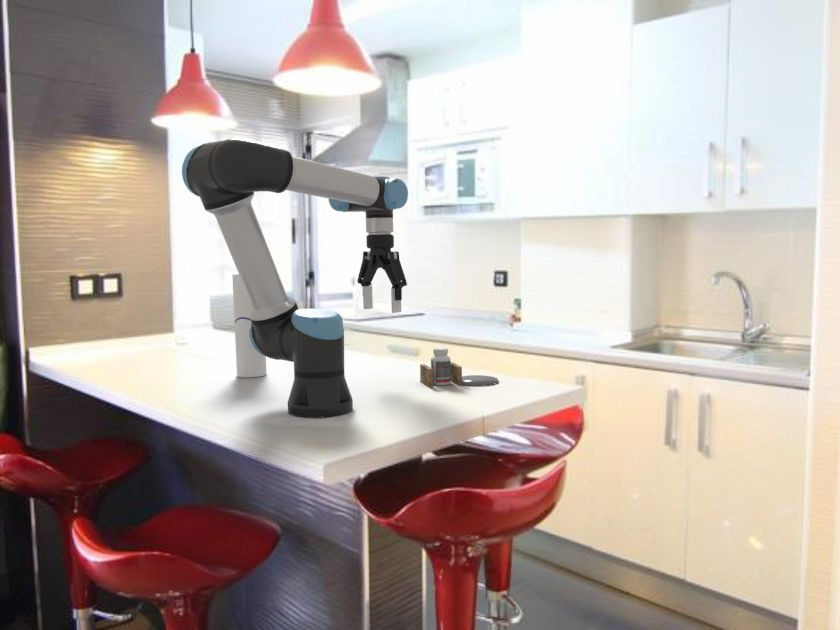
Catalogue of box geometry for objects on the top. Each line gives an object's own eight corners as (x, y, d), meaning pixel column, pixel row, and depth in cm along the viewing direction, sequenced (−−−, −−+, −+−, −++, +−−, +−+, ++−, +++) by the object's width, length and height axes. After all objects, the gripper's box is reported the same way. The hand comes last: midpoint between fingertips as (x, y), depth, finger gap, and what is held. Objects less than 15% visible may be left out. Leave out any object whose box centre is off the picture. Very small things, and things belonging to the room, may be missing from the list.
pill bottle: (454, 382, 193) (454, 347, 192) (443, 386, 189) (443, 350, 188) (438, 380, 196) (437, 346, 195) (427, 384, 192) (426, 349, 191)
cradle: (462, 385, 190) (461, 366, 189) (428, 387, 187) (428, 369, 187) (452, 379, 198) (452, 362, 197) (420, 381, 195) (420, 364, 194)
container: (258, 377, 203) (254, 274, 201) (231, 377, 205) (227, 274, 202) (271, 372, 211) (267, 273, 209) (245, 372, 213) (240, 273, 211)
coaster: (504, 384, 190) (504, 382, 190) (463, 387, 187) (463, 385, 187) (488, 376, 202) (488, 374, 202) (448, 379, 198) (448, 377, 198)
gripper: (418, 233, 185) (420, 312, 187) (365, 234, 204) (367, 306, 207) (396, 233, 180) (398, 315, 183) (343, 234, 200) (346, 308, 202)
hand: (381, 310), depth 195 cm, fingers open, 13 cm apart
